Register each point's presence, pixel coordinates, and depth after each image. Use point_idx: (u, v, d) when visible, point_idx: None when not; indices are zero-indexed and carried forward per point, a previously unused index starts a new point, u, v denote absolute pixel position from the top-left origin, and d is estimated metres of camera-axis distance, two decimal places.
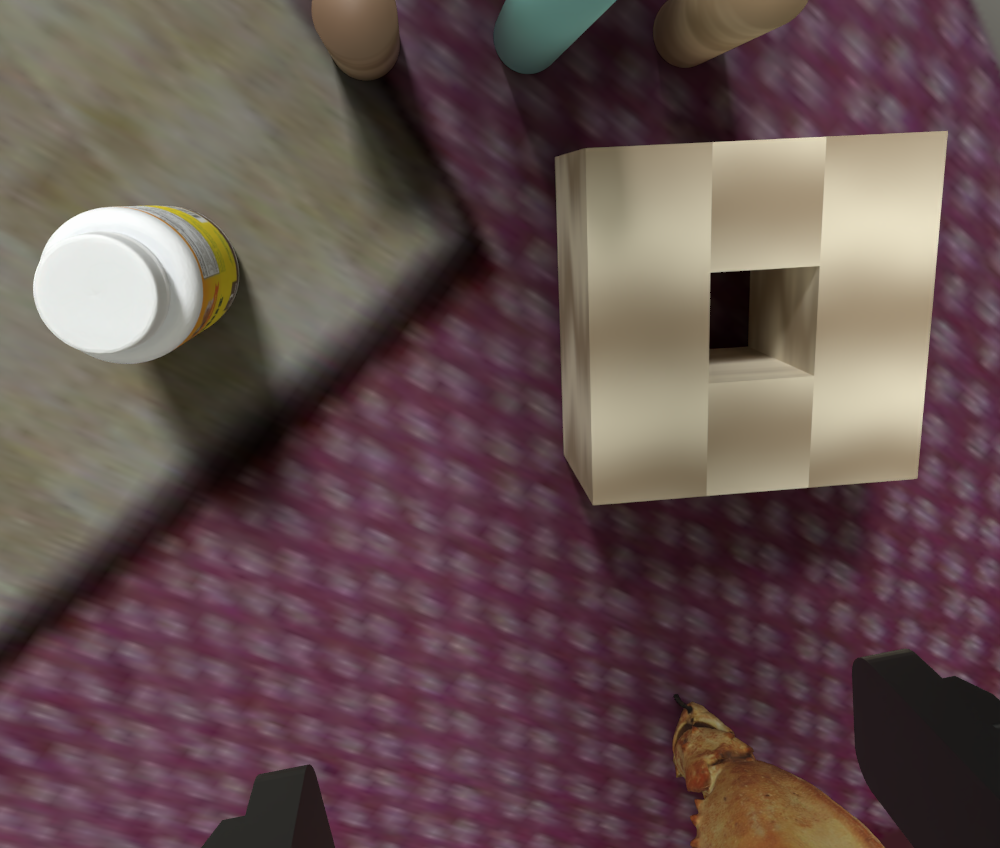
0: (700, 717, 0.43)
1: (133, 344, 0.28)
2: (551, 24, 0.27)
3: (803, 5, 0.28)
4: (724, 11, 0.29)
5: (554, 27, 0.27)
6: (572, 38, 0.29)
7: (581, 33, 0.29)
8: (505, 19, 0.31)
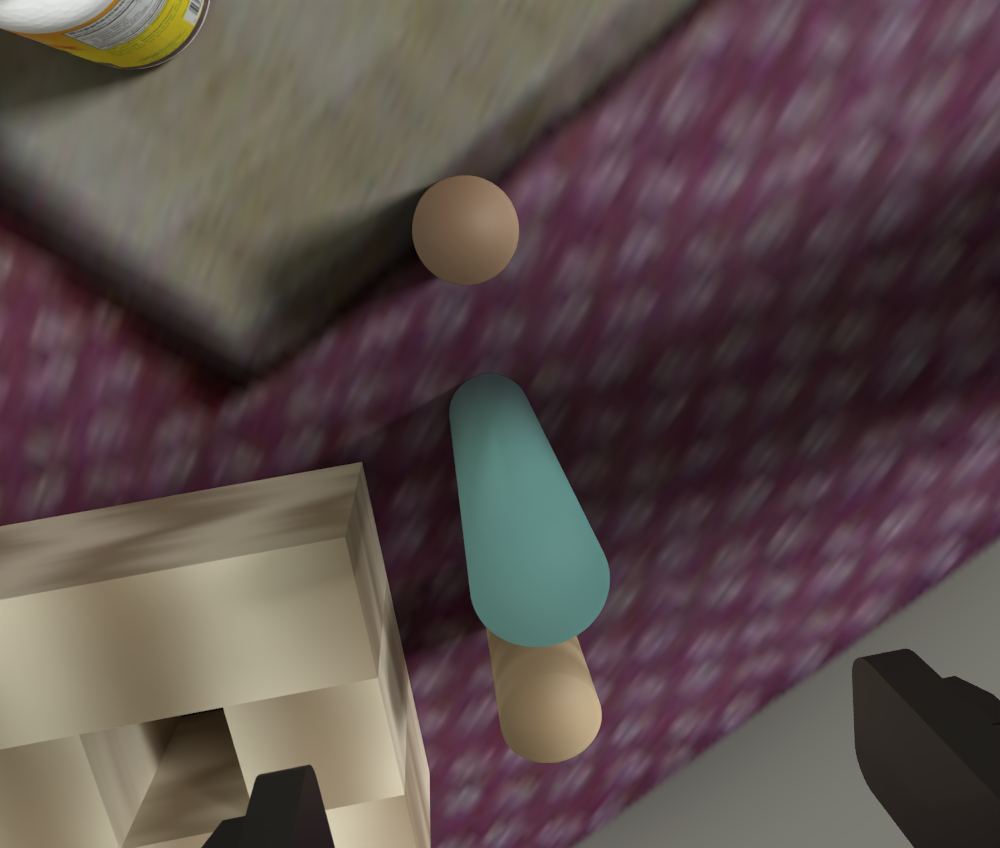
0: None
1: None
2: (464, 501, 0.21)
3: (528, 758, 0.25)
4: (515, 671, 0.25)
5: (462, 504, 0.21)
6: None
7: None
8: (488, 408, 0.26)
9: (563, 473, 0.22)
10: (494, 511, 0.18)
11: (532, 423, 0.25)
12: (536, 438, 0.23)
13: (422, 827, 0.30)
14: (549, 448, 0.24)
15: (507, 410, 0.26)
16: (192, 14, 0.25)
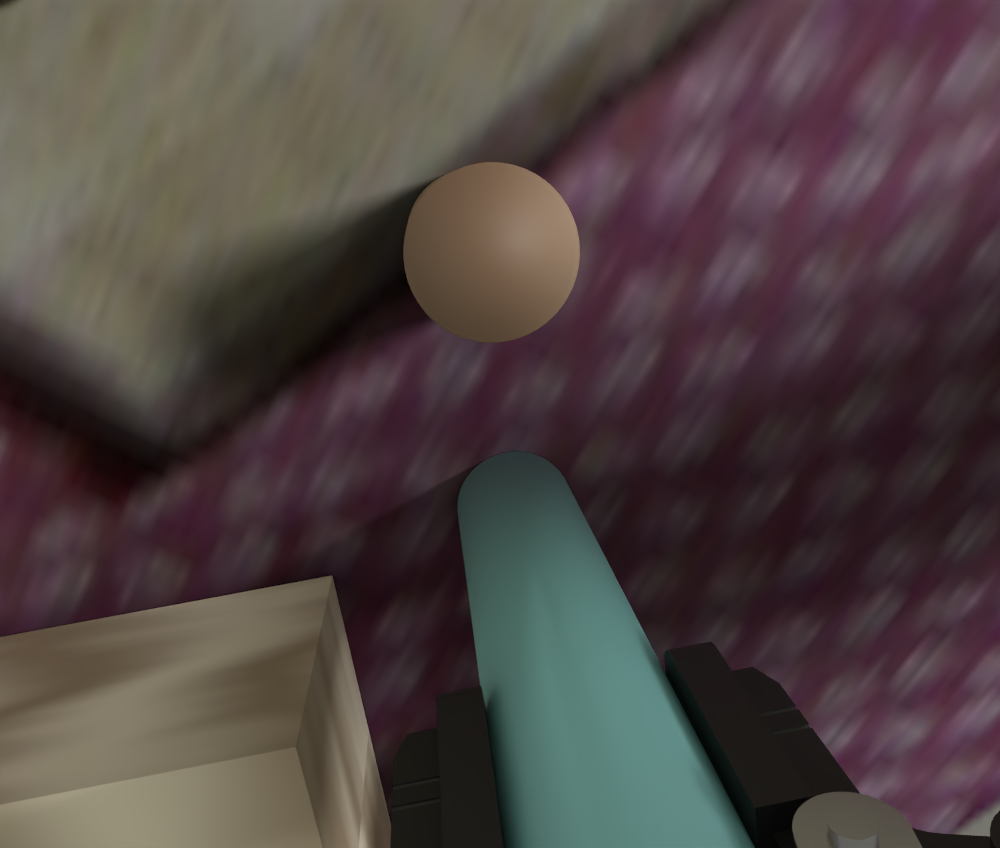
0: None
1: None
2: (496, 740, 0.12)
3: None
4: None
5: (492, 740, 0.12)
6: None
7: None
8: (522, 526, 0.17)
9: (665, 676, 0.13)
10: (569, 833, 0.09)
11: (594, 556, 0.16)
12: (609, 597, 0.14)
13: None
14: (630, 612, 0.14)
15: (553, 532, 0.16)
16: None
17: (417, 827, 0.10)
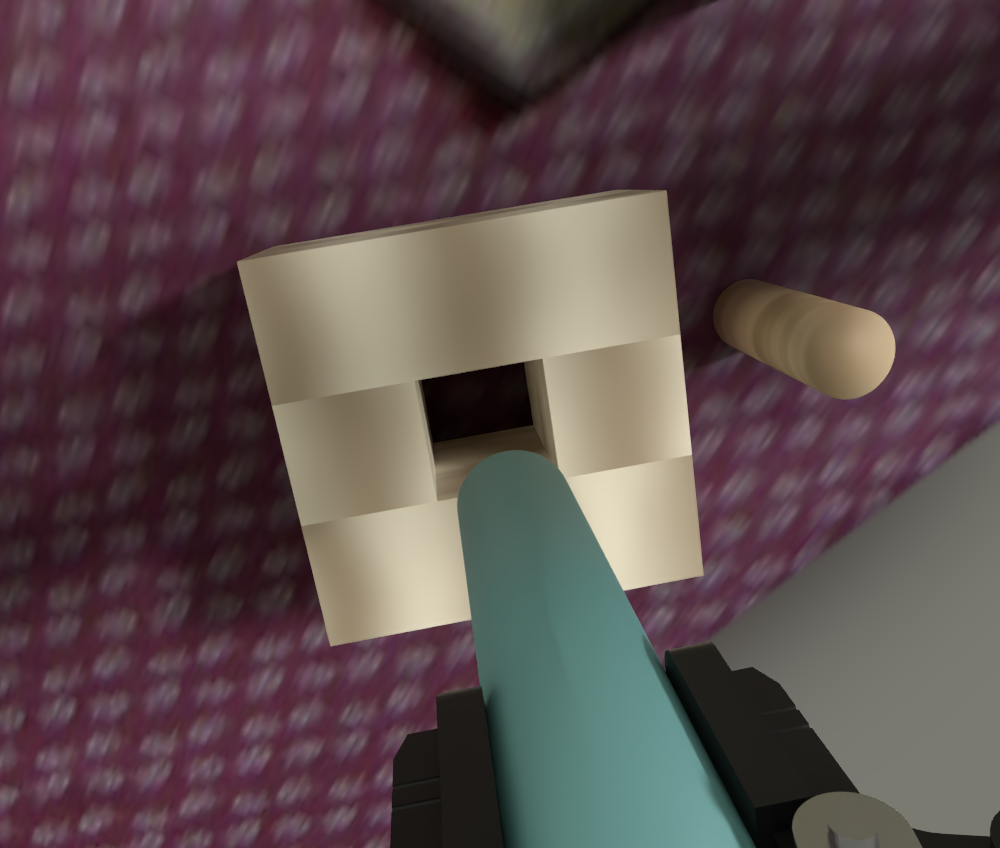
0: None
1: None
2: (496, 739, 0.12)
3: (828, 393, 0.27)
4: (815, 316, 0.28)
5: (492, 739, 0.12)
6: None
7: None
8: (521, 525, 0.17)
9: (665, 675, 0.13)
10: (569, 832, 0.09)
11: (594, 555, 0.16)
12: (609, 596, 0.14)
13: None
14: (630, 611, 0.14)
15: (553, 531, 0.16)
16: None
17: (417, 827, 0.10)
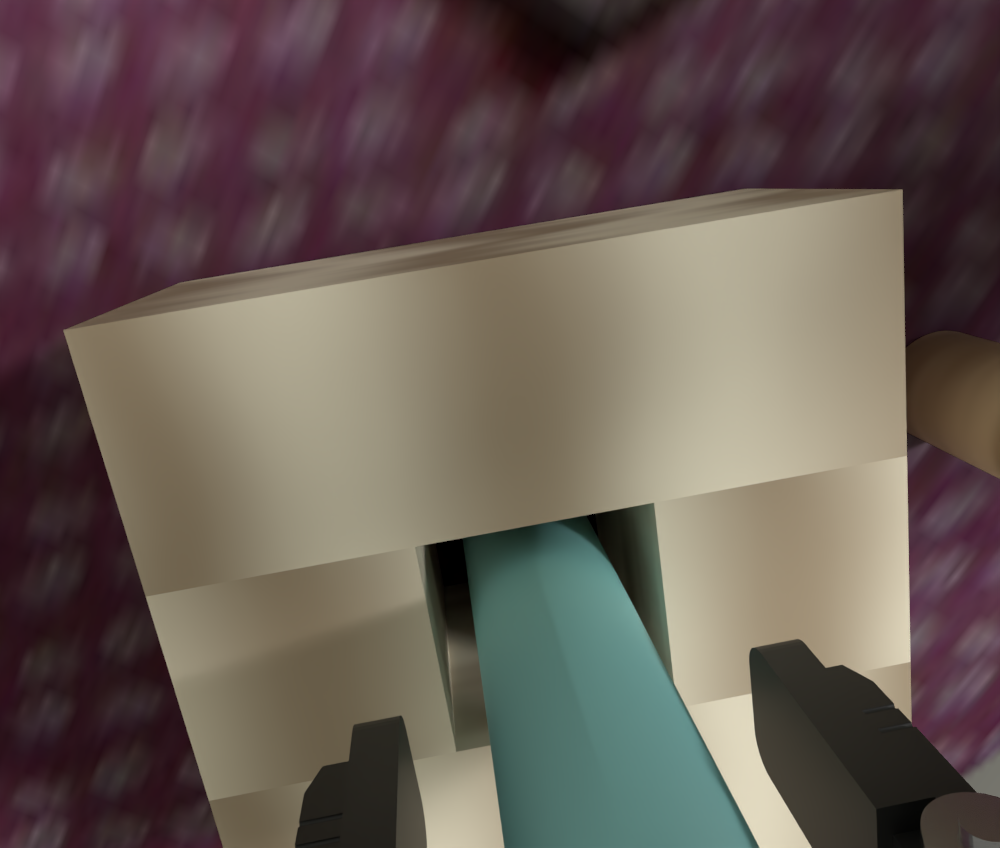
0: None
1: None
2: (494, 713, 0.12)
3: None
4: None
5: (491, 713, 0.13)
6: None
7: None
8: None
9: (656, 652, 0.13)
10: (563, 793, 0.10)
11: (590, 541, 0.16)
12: (603, 579, 0.15)
13: None
14: (623, 594, 0.15)
15: None
16: None
17: None
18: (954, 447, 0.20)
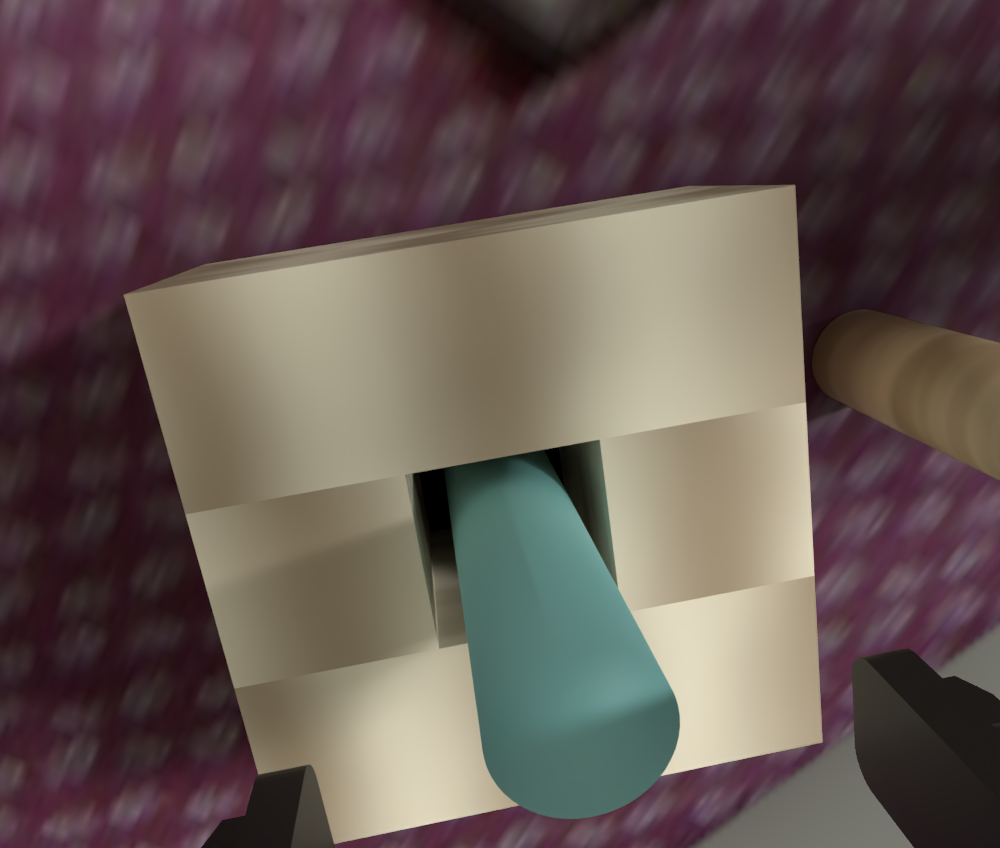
0: None
1: None
2: (467, 592, 0.16)
3: None
4: None
5: (464, 594, 0.16)
6: None
7: None
8: None
9: (597, 550, 0.17)
10: (514, 624, 0.13)
11: (549, 475, 0.20)
12: (558, 499, 0.18)
13: None
14: (574, 512, 0.18)
15: (517, 458, 0.20)
16: None
17: None
18: (863, 406, 0.24)
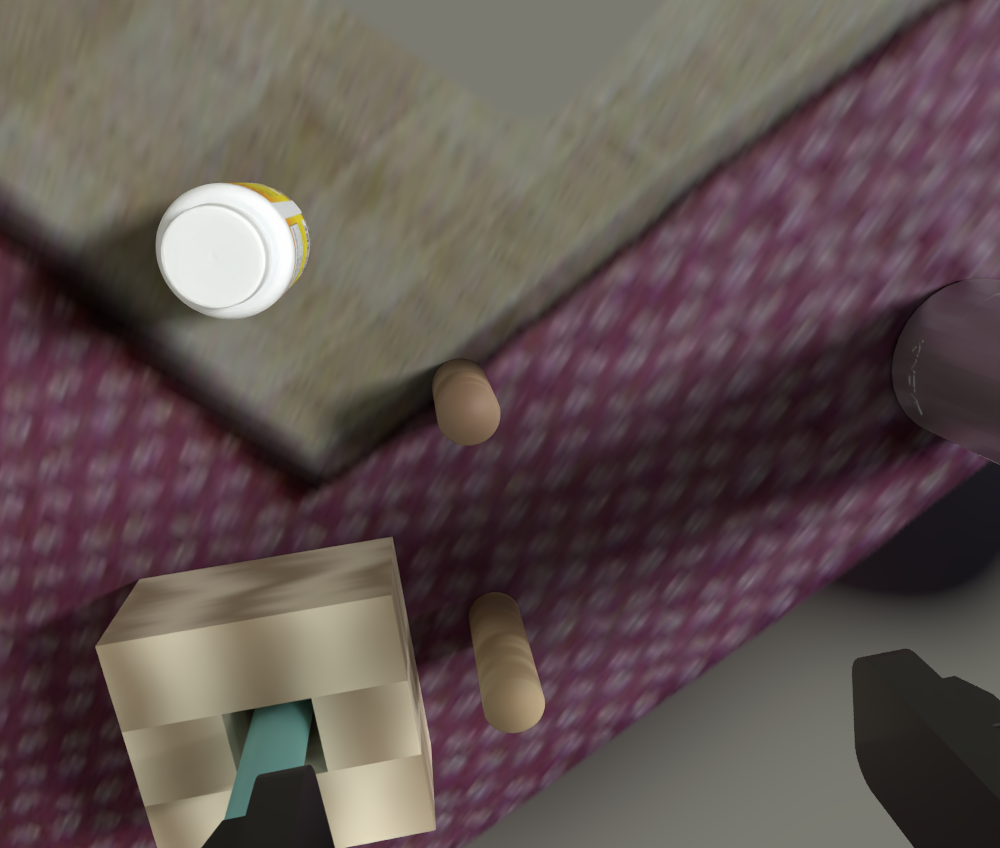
0: None
1: (174, 288, 0.32)
2: (235, 779, 0.39)
3: (500, 730, 0.41)
4: (493, 677, 0.41)
5: (235, 778, 0.39)
6: None
7: None
8: None
9: (295, 757, 0.39)
10: (235, 805, 0.36)
11: (295, 706, 0.43)
12: (289, 727, 0.41)
13: (429, 778, 0.46)
14: (297, 732, 0.41)
15: None
16: (301, 272, 0.41)
17: None
18: None
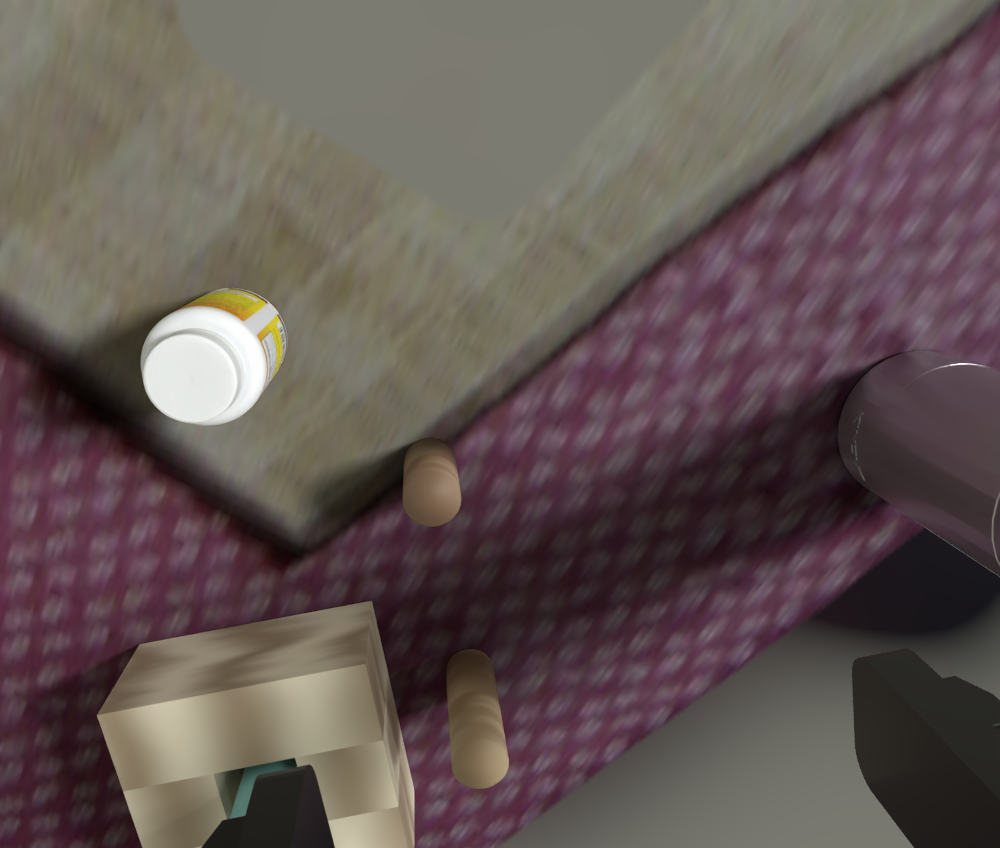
0: None
1: (156, 407, 0.36)
2: None
3: (468, 786, 0.44)
4: (460, 737, 0.44)
5: None
6: None
7: None
8: None
9: None
10: None
11: (282, 764, 0.46)
12: None
13: (409, 825, 0.49)
14: None
15: None
16: (278, 368, 0.44)
17: None
18: None
